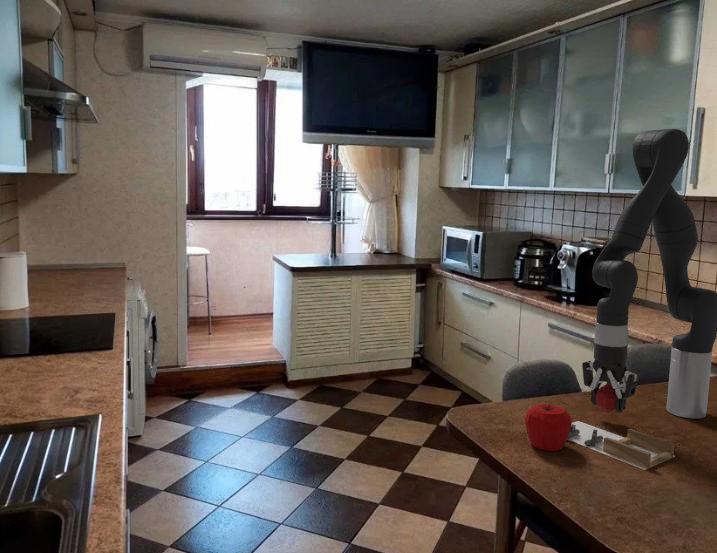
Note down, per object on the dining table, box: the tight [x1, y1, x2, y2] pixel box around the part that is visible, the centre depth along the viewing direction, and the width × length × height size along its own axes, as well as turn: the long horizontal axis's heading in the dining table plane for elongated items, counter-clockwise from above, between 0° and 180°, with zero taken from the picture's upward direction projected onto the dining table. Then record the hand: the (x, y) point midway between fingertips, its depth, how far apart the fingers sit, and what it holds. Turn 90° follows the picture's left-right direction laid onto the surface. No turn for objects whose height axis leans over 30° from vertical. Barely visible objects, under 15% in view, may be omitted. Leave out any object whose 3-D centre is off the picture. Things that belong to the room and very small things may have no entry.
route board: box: [566, 420, 676, 471], centre depth 136 cm, size 14×24×4 cm, turn 35°
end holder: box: [603, 428, 675, 469], centre depth 130 cm, size 10×10×3 cm
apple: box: [524, 403, 573, 452], centre depth 134 cm, size 10×10×11 cm
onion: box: [595, 382, 618, 414], centre depth 149 cm, size 6×6×8 cm
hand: (607, 407), depth 149 cm, fingers closed on onion, 6 cm apart
